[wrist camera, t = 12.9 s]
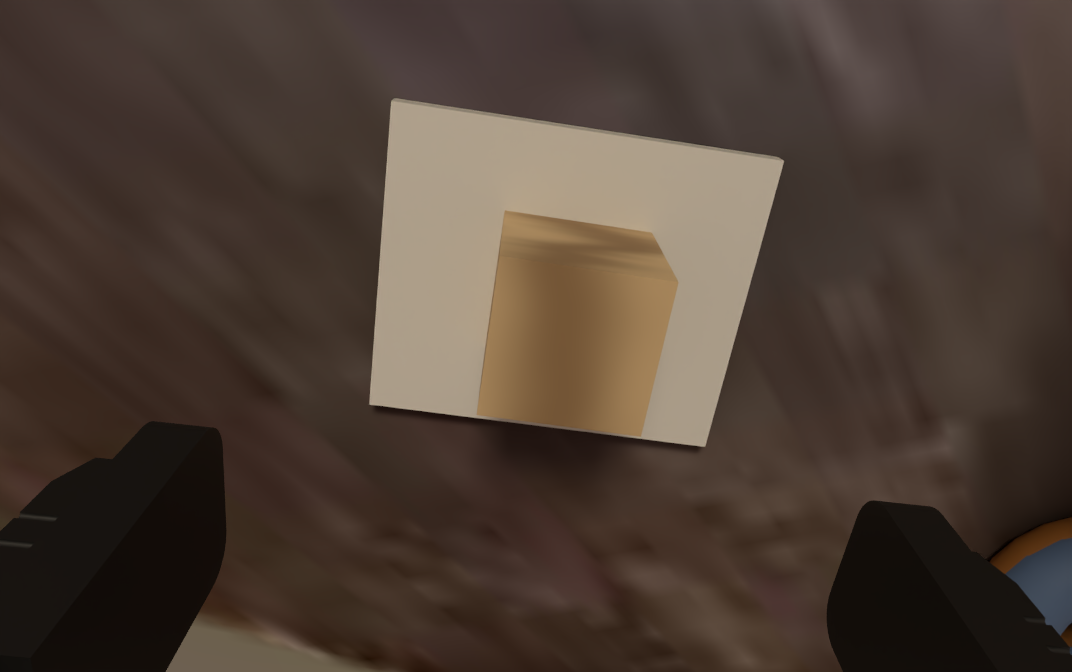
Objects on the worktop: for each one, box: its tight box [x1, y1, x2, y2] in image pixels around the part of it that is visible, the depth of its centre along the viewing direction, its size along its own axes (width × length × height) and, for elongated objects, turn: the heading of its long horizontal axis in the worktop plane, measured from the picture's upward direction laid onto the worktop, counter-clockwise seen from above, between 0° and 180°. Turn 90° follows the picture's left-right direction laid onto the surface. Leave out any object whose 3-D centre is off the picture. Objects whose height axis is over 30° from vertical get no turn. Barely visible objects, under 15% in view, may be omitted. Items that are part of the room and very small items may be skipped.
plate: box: [369, 98, 784, 447], centre depth 30 cm, size 14×12×1 cm
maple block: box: [477, 210, 679, 437], centre depth 27 cm, size 6×6×6 cm
